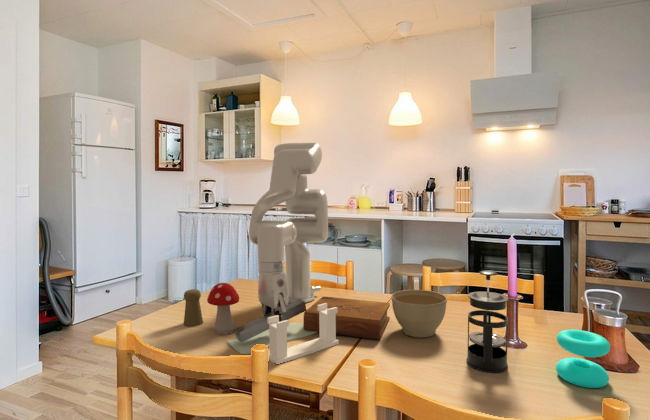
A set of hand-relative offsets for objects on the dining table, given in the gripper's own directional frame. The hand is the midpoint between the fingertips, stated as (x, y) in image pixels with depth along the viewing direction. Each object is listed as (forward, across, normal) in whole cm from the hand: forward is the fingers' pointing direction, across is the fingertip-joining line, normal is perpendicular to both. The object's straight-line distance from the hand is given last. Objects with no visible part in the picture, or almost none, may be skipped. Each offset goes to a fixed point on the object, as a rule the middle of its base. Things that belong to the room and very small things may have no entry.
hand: (272, 328), depth 113 cm
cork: (+3, +27, +14) cm, 31 cm away
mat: (+3, 0, 0) cm, 3 cm away
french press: (+3, -48, -32) cm, 58 cm away
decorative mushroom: (+3, +14, +9) cm, 17 cm away
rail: (-1, 0, 0) cm, 1 cm away
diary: (+3, -7, -23) cm, 24 cm away
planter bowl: (+3, -24, -36) cm, 43 cm away
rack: (+3, -13, -2) cm, 13 cm away
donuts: (+3, -65, -42) cm, 77 cm away
